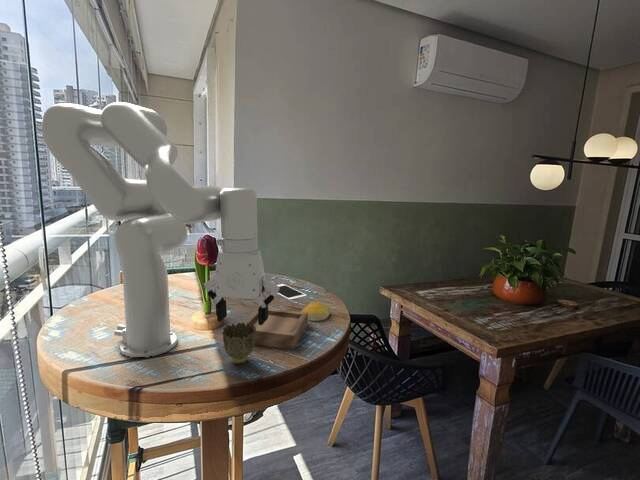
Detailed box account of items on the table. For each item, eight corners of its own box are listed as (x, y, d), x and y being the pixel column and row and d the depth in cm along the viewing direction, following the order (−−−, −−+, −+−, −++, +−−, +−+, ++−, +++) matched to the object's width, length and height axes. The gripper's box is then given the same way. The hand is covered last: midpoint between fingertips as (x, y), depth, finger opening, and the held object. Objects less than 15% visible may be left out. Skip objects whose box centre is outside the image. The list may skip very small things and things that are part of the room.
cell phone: (283, 285, 136) (283, 283, 136) (307, 296, 124) (307, 295, 124) (266, 288, 131) (266, 287, 131) (289, 301, 119) (289, 299, 119)
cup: (226, 353, 82) (226, 321, 80) (257, 353, 82) (257, 321, 81) (219, 370, 75) (218, 336, 73) (253, 370, 75) (253, 336, 74)
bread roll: (297, 319, 104) (297, 306, 103) (309, 309, 112) (309, 297, 111) (322, 324, 101) (323, 311, 100) (333, 313, 109) (333, 301, 108)
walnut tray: (237, 343, 88) (237, 328, 87) (258, 320, 102) (258, 307, 101) (293, 351, 85) (294, 335, 84) (307, 326, 99) (308, 312, 99)
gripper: (193, 247, 72) (197, 324, 75) (272, 251, 68) (273, 331, 71) (211, 241, 79) (214, 311, 82) (283, 244, 76) (284, 317, 79)
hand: (242, 320), depth 77 cm, fingers open, 9 cm apart
